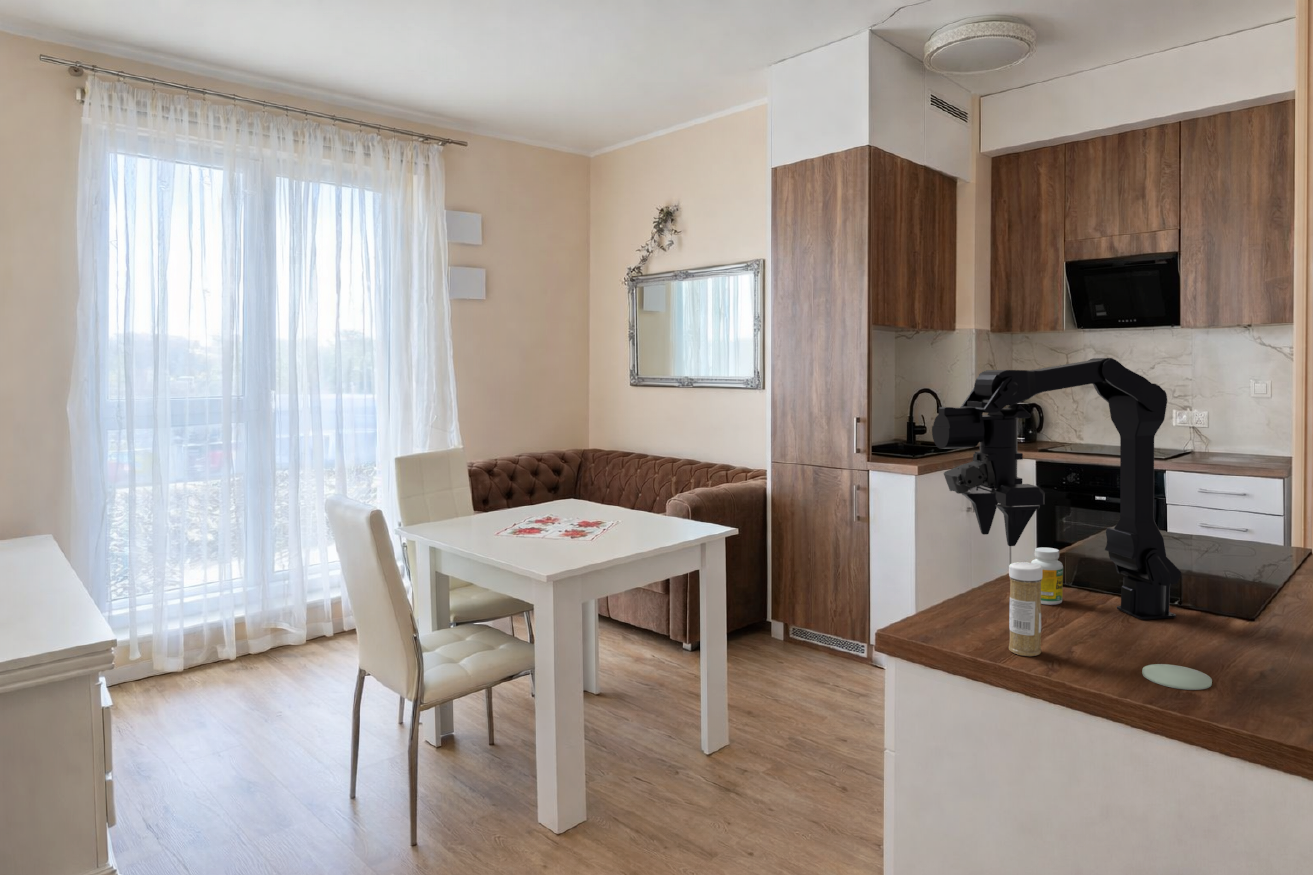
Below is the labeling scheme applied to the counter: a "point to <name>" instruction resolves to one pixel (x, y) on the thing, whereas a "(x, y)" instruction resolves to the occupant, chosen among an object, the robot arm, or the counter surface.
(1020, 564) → the sprinkles bottle
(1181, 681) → the mat
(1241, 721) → the counter surface
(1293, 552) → the counter surface
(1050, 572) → the supplement bottle
